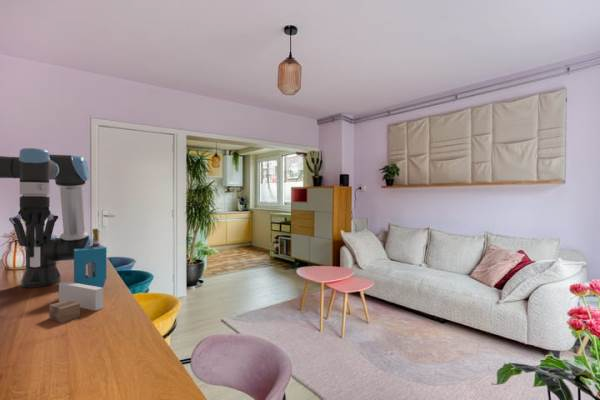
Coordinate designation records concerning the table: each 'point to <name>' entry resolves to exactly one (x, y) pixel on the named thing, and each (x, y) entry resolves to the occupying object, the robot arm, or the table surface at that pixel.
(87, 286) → the grey board
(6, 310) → the table surface
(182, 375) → the table surface
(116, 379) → the table surface
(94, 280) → the block
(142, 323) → the table surface
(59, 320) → the walnut block
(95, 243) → the liquor
